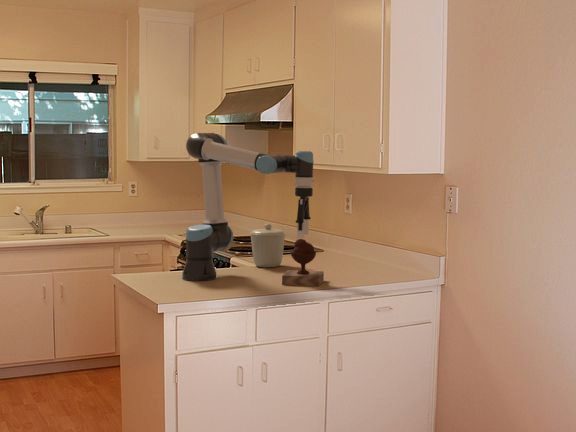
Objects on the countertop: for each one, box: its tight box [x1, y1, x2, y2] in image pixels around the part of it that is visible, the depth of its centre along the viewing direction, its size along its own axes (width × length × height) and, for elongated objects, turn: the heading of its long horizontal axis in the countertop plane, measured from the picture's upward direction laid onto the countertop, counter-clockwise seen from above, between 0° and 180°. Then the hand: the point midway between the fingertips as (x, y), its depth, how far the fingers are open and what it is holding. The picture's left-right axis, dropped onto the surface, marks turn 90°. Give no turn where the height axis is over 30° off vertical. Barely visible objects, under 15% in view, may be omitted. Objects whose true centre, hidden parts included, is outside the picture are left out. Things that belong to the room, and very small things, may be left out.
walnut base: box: [281, 269, 325, 287], centre depth 335 cm, size 16×14×4 cm
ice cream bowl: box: [290, 238, 317, 275], centre depth 334 cm, size 11×11×15 cm
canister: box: [249, 223, 287, 268], centre depth 378 cm, size 18×18×21 cm
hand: (302, 236), depth 333 cm, fingers open, 13 cm apart
